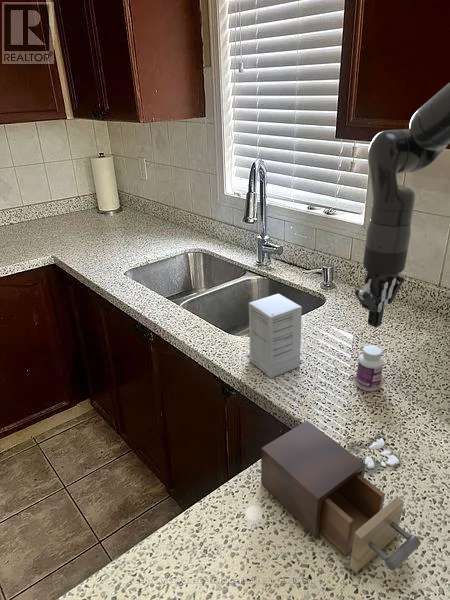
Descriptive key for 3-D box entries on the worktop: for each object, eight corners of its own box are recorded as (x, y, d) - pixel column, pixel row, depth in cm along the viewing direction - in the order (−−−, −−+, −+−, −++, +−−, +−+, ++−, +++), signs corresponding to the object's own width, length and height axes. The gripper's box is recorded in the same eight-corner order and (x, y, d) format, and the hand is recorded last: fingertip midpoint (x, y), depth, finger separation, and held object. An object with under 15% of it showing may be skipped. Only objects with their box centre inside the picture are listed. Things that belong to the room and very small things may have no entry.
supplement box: (301, 366, 111) (303, 306, 103) (270, 379, 107) (271, 317, 99) (277, 349, 118) (278, 292, 111) (248, 360, 114) (247, 301, 107)
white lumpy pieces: (380, 442, 88) (382, 434, 87) (403, 467, 82) (405, 460, 81) (347, 451, 86) (348, 444, 85) (368, 478, 80) (369, 471, 79)
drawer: (422, 558, 65) (431, 522, 62) (381, 600, 61) (389, 563, 57) (338, 487, 77) (342, 454, 74) (298, 518, 72) (300, 483, 69)
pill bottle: (375, 395, 100) (381, 359, 96) (352, 387, 103) (356, 352, 99) (382, 382, 104) (387, 347, 100) (360, 375, 107) (364, 341, 102)
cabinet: (359, 506, 75) (365, 463, 70) (314, 543, 69) (318, 499, 65) (304, 460, 84) (307, 420, 80) (260, 489, 79) (261, 447, 74)
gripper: (382, 258, 76) (369, 344, 84) (425, 241, 83) (409, 321, 91) (347, 247, 81) (338, 328, 89) (390, 231, 88) (378, 308, 97)
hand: (374, 324), depth 90 cm, fingers closed
